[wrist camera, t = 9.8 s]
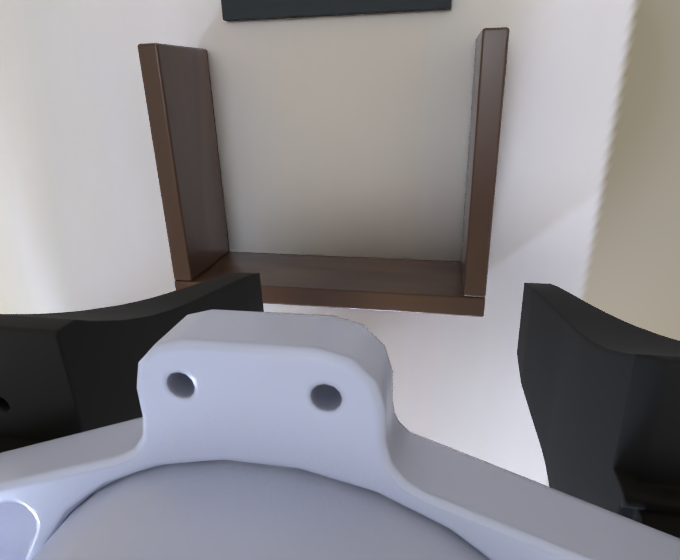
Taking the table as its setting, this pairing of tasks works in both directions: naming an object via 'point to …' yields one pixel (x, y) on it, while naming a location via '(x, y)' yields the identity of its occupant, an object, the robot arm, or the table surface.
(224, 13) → the mat
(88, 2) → the table surface
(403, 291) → the cubby
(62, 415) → the robot arm
